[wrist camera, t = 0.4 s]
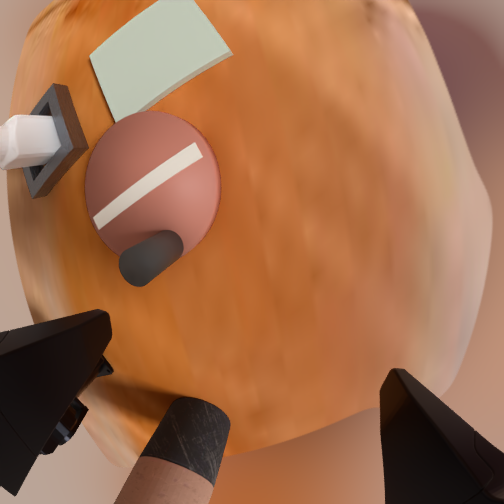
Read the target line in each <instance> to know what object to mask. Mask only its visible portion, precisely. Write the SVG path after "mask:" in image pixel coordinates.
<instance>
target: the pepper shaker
mask: <svg viewBox="0 0 504 504" xmlns="http://www.w3.org/2000/svg"><path fill="white" fill-rule="evenodd" d="M60 146H61V143H60V140H59V137H58V134H57V131H56V128H55V124H54V121H53V118H52V116H39V115H14V116H12V117H11V118H10V119H8V121H6V122H5V124H4V125H3V126H0V168H1V169H2V170H8V169H15V168H22V167H29V166H37V165H44V164H46V163H48V161H49V160H50V159H51V157H52V156H53V155H54V154H55V152H56V151H57V150H58V149H59V148H60Z"/></svg>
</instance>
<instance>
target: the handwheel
mask: <svg viewBox="0 0 504 504" xmlns="http://www.w3.org/2000/svg"><path fill="white" fill-rule="evenodd" d="M85 197H86V204H87V209H88V212H89V216H90V219H91V221H92V224H93V226H94V228H95V230H96V231H97V233H98V235H99V236H100V238H101V239H102V241H103V242H104V243H105V244H106V245H107V246H108V247H109V248H110V249H111V250H112V251H113V252H114V253H116V254H117V255H119V256H120V258H119V268H120V272H121V274H122V276H123V277H124V279H125V280H126V281H127V282H128V283H130V284H131V285H133V286H137V287H141V286H145V285H146V284H147V283H149V282H150V281H151V280H152V279H154V278H155V277H156V276H157V275H159V274H160V273H161V272H162V271H164V270H165V269H166V268H167V267H169V266H170V265H171V264H172V263H174V262H175V261H176V260H178V259H179V258H180V257H182V256H184V255H185V254H186V253H188V252H189V251H190V250H192V249H193V248H194V247H195V246H196V245H197V244H199V243H200V241H201V240H202V239H203V238H204V237H205V236H206V234H207V233H208V231H209V230H210V228H211V226H212V224H213V222H214V220H215V217H216V215H217V212H218V208H219V204H220V198H221V176H220V170H219V165H218V162H217V159H216V156H215V154H214V151H213V149H212V147H211V146H210V144H209V142H208V141H207V139H206V138H205V137H204V136H203V134H202V133H201V132H200V131H199V130H198V129H197V128H195V127H194V126H193V125H192V124H190V123H189V122H187V121H185V120H183V119H181V118H179V117H176V116H173V115H171V114H168V113H163V112H159V111H143V112H138V113H134V114H131V115H129V116H127V117H124V118H123V119H121V120H119V121H118V122H116V123H115V124H114V125H113V126H111V127H110V128H109V129H108V130H107V131H106V132H105V133H104V135H103V136H102V137H101V139H100V140H99V141H98V143H97V145H96V146H95V148H94V150H93V153H92V155H91V157H90V160H89V163H88V167H87V172H86V179H85Z"/></svg>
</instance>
